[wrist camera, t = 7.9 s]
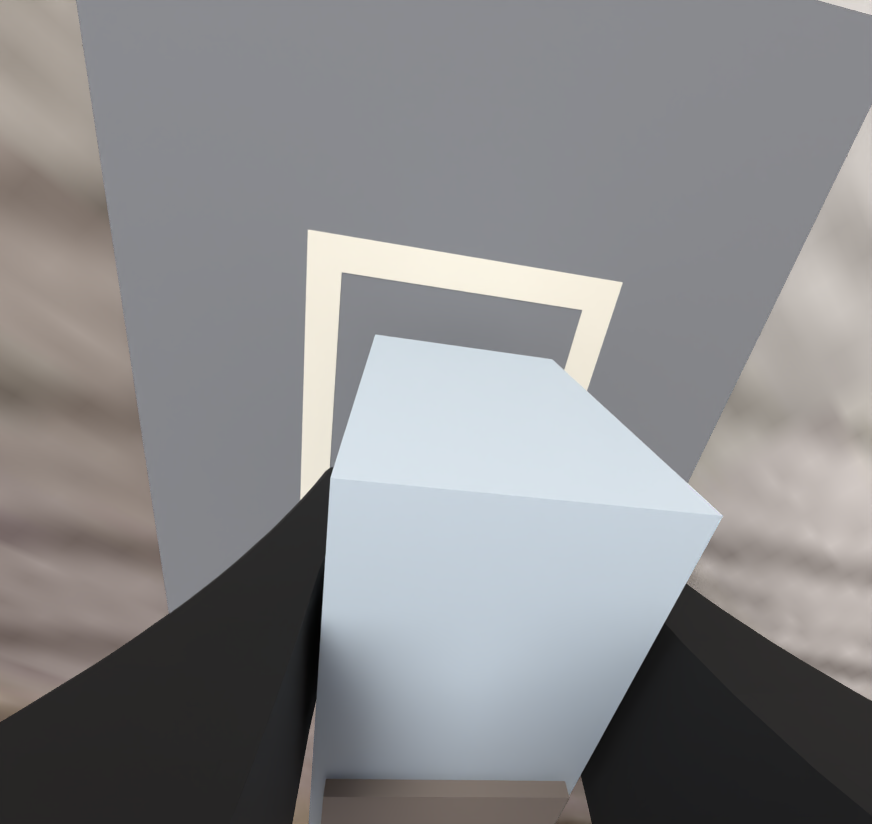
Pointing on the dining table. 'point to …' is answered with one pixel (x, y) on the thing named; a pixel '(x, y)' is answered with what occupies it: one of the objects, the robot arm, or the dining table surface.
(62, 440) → the dining table surface
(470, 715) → the card box
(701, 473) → the dining table surface
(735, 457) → the dining table surface
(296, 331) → the mat
